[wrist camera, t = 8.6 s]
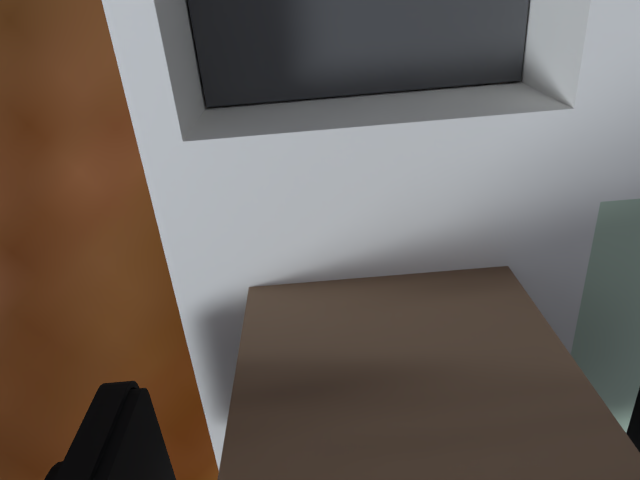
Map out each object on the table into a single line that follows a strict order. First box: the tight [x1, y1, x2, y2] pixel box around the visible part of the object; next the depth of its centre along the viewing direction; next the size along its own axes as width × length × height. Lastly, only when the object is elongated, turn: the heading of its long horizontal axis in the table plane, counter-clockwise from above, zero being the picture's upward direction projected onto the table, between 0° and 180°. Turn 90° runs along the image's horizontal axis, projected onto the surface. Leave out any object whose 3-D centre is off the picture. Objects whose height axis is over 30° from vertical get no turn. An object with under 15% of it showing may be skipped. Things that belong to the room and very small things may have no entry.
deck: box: [102, 0, 640, 469], centre depth 12 cm, size 29×16×4 cm, turn 4°
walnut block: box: [218, 266, 640, 480], centre depth 9 cm, size 5×5×5 cm
